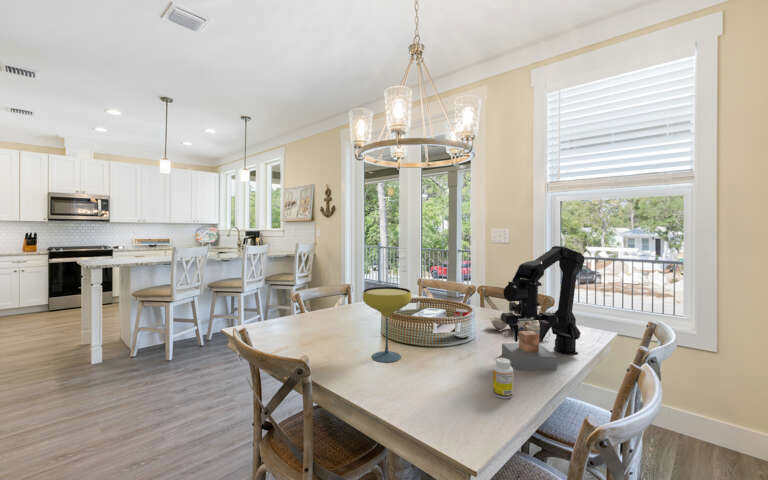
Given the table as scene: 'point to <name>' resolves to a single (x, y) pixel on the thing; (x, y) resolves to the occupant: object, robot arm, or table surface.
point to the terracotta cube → (528, 341)
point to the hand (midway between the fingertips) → (528, 341)
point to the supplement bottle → (503, 378)
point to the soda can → (460, 312)
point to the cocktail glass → (386, 311)
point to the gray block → (529, 358)
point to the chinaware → (521, 324)
